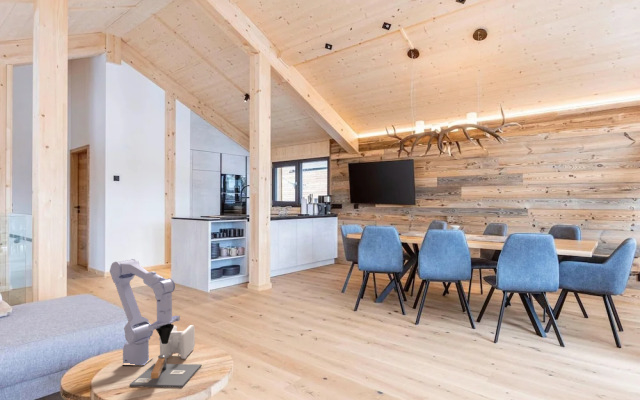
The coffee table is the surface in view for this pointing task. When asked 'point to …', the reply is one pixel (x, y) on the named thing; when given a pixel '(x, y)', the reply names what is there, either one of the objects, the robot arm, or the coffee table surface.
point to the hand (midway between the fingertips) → (164, 343)
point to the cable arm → (159, 366)
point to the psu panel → (167, 376)
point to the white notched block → (179, 342)
